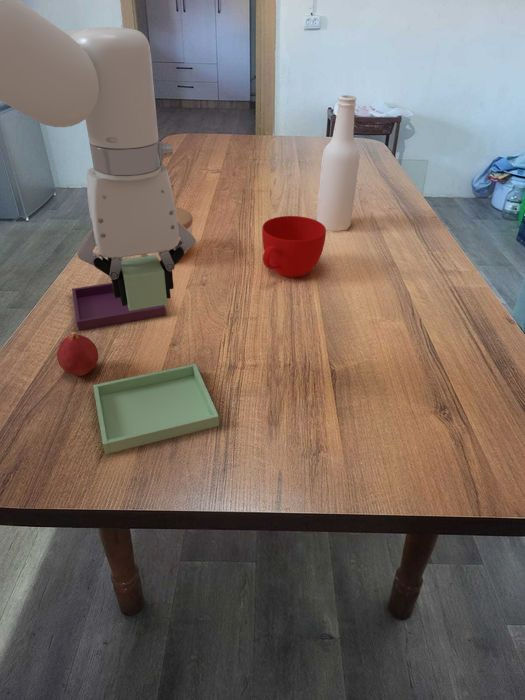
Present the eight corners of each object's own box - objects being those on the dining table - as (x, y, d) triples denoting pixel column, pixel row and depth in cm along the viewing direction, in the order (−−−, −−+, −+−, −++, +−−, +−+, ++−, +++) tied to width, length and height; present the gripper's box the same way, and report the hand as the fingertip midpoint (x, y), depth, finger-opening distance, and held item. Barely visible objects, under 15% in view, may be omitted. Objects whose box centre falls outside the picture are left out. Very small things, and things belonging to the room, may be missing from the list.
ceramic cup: (238, 282, 101) (237, 236, 95) (282, 253, 113) (284, 211, 107) (291, 301, 96) (294, 254, 90) (332, 269, 107) (337, 225, 101)
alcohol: (326, 235, 122) (340, 101, 104) (309, 222, 128) (320, 94, 110) (356, 230, 125) (375, 99, 107) (338, 217, 131) (353, 92, 113)
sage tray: (105, 456, 63) (102, 444, 62) (95, 396, 72) (93, 384, 71) (219, 428, 68) (218, 416, 66) (196, 375, 77) (195, 363, 75)
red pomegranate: (54, 380, 75) (41, 337, 70) (79, 359, 79) (68, 317, 74) (86, 390, 73) (75, 347, 68) (109, 368, 78) (100, 326, 73)
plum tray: (79, 333, 85) (76, 321, 84) (74, 299, 94) (71, 288, 93) (166, 317, 90) (165, 307, 88) (153, 286, 99) (152, 276, 98)
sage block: (129, 311, 64) (124, 276, 61) (123, 293, 68) (117, 259, 65) (167, 304, 66) (164, 270, 63) (159, 287, 69) (155, 254, 66)
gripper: (191, 144, 61) (198, 275, 72) (44, 154, 56) (76, 294, 67) (208, 161, 56) (213, 300, 66) (48, 174, 50) (81, 323, 61)
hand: (144, 296), depth 66 cm, fingers closed on sage block, 5 cm apart
